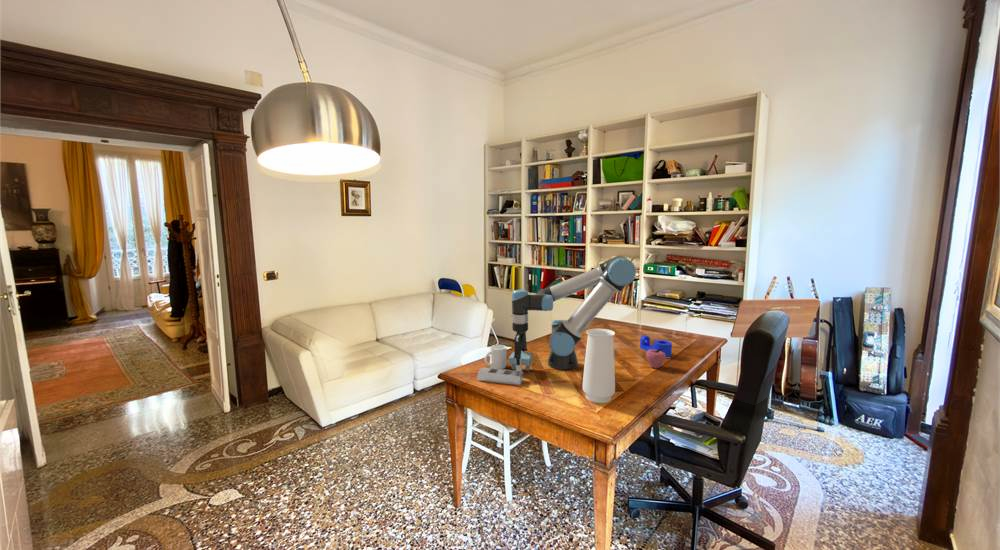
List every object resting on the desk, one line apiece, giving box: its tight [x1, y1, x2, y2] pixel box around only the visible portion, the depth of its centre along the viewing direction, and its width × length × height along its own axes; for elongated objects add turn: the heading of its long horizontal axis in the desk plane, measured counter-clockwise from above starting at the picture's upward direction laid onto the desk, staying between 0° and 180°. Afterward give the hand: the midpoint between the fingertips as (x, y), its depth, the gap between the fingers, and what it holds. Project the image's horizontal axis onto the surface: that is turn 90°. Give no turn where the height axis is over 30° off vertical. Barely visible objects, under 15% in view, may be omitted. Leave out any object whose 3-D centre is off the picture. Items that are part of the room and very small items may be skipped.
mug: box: [484, 344, 507, 370], centre depth 199 cm, size 12×8×10 cm
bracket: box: [639, 334, 673, 358], centre depth 221 cm, size 20×9×8 cm, turn 21°
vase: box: [582, 327, 616, 404], centre depth 163 cm, size 13×13×28 cm
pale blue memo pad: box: [507, 351, 534, 371], centre depth 193 cm, size 10×9×6 cm
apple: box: [645, 349, 667, 369], centre depth 199 cm, size 10×9×10 cm
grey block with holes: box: [477, 366, 524, 386], centre depth 183 cm, size 20×6×4 cm, turn 74°
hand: (520, 367), depth 194 cm, fingers closed on pale blue memo pad, 9 cm apart
